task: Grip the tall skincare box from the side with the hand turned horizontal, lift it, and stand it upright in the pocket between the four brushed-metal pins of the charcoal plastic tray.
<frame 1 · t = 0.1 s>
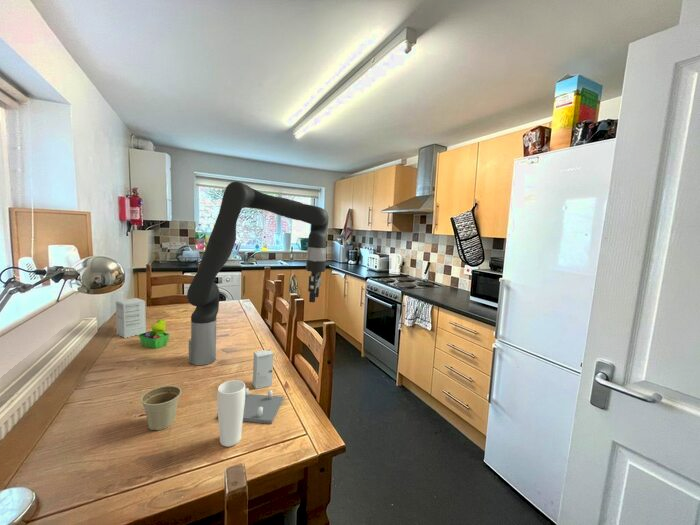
hand: (314, 299, 113), 29 cm above the table, tool pointing down, fingers open, 8 cm apart
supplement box: (131, 334, 141), on the table
fruit basket: (155, 345, 130), on the table
drinking glass: (230, 441, 75), on the table
skincare box: (262, 385, 103), on the table
flower pot: (162, 424, 80), on the table
pin tray: (252, 408, 89), on the table
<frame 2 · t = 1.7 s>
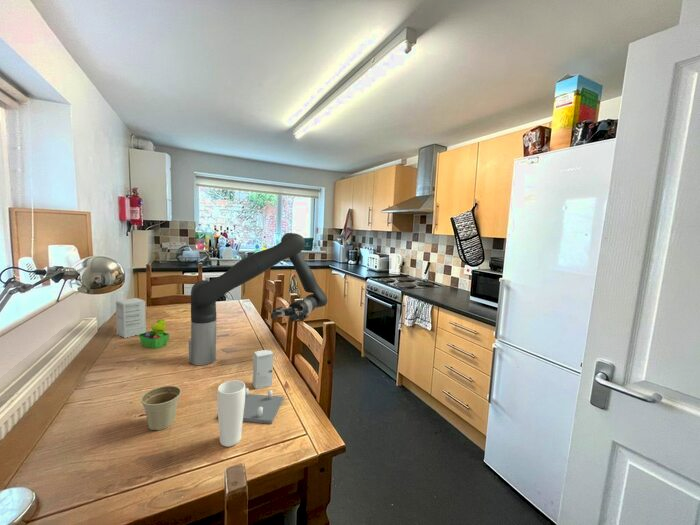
hand: (281, 318, 111), 22 cm above the table, tool horizontal, fingers open, 8 cm apart
nothing on the table moved.
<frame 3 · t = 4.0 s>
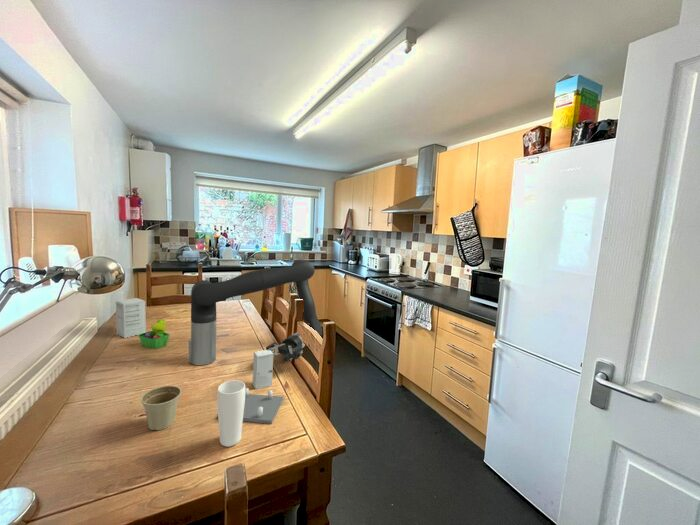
hand: (274, 357, 109), 7 cm above the table, tool horizontal, fingers open, 8 cm apart
nothing on the table moved.
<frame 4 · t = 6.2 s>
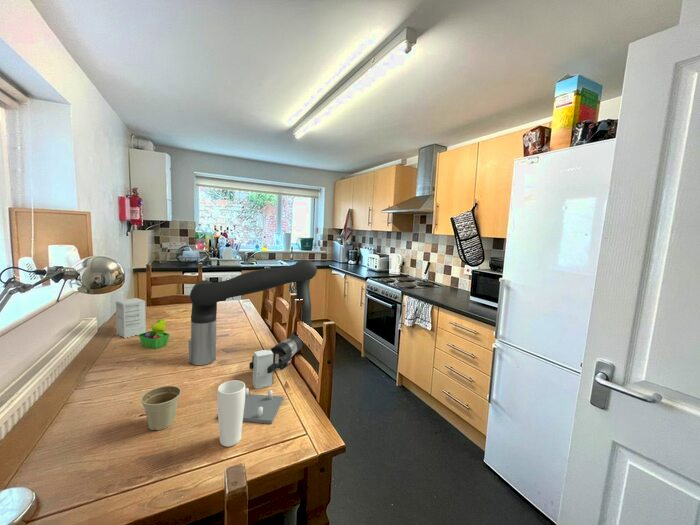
hand: (259, 368, 100), 7 cm above the table, tool horizontal, fingers closed on skincare box, 7 cm apart
skincare box: (262, 385, 103), on the table, touching gripper
everything else where it was.
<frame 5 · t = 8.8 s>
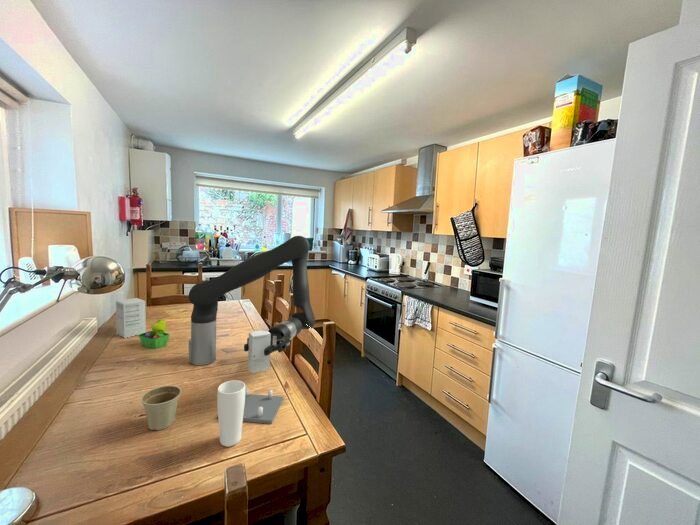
hand: (255, 350, 90), 18 cm above the table, tool horizontal, fingers closed on skincare box, 7 cm apart
skincare box: (258, 369, 93), point 10 cm above the table, touching gripper
everything else where it was.
when the fingers open (9 cm above the table, at t = 11.8 s): skincare box drops 1 cm, resting on pin tray.
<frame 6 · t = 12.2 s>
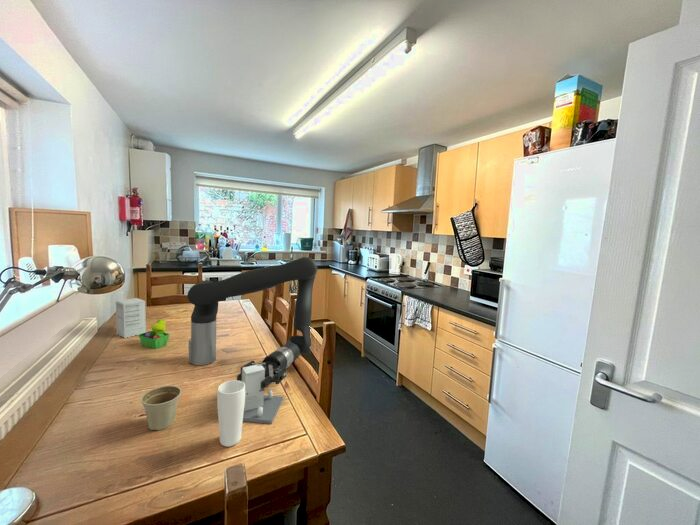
hand: (249, 382, 86), 10 cm above the table, tool horizontal, fingers open, 8 cm apart
skincare box: (252, 405, 89), point 1 cm above the table, touching pin tray
everything else where it was.
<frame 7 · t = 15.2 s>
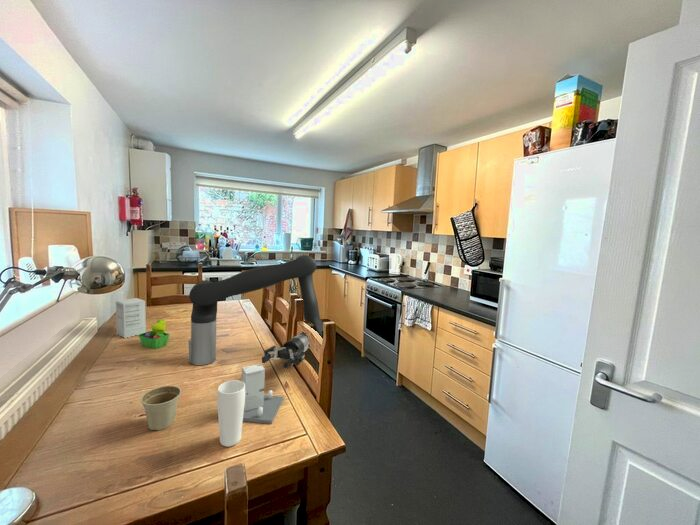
hand: (273, 363, 98), 10 cm above the table, tool horizontal, fingers open, 8 cm apart
nothing on the table moved.
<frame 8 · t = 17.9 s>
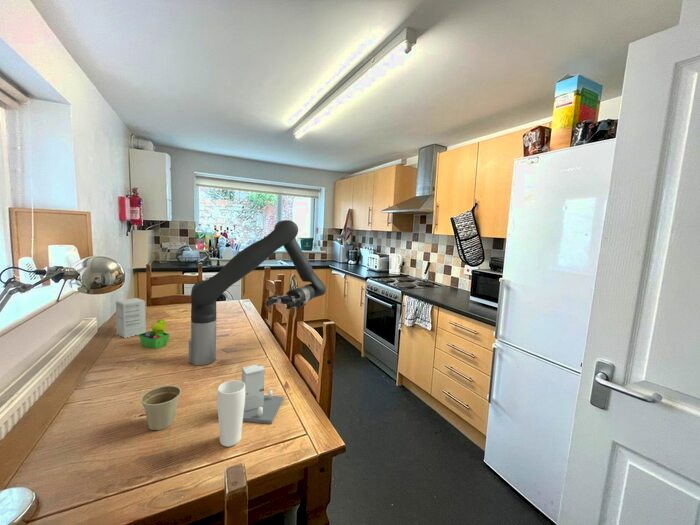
hand: (277, 305, 106), 28 cm above the table, tool horizontal, fingers open, 8 cm apart
nothing on the table moved.
at the end: skincare box 0.3 cm off-centre on the pin tray, point 0.8 cm above the pin tray's base; skincare box tilted 0°; the gripper is holding nothing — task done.
